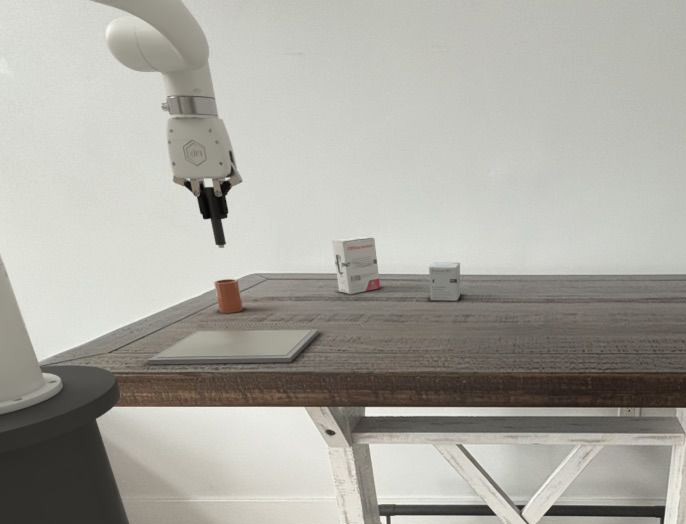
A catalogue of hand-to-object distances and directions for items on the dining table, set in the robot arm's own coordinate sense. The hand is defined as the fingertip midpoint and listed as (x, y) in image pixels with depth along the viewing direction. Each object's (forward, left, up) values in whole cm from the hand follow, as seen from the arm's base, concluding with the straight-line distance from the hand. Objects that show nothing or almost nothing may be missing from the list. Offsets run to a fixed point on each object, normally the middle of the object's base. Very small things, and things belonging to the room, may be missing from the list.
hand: (215, 217), depth 105 cm
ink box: (+19, -21, -18) cm, 34 cm away
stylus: (0, 0, -6) cm, 6 cm away
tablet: (-24, -11, -18) cm, 32 cm away
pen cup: (+1, +1, -18) cm, 18 cm away
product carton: (+10, -42, -18) cm, 47 cm away
